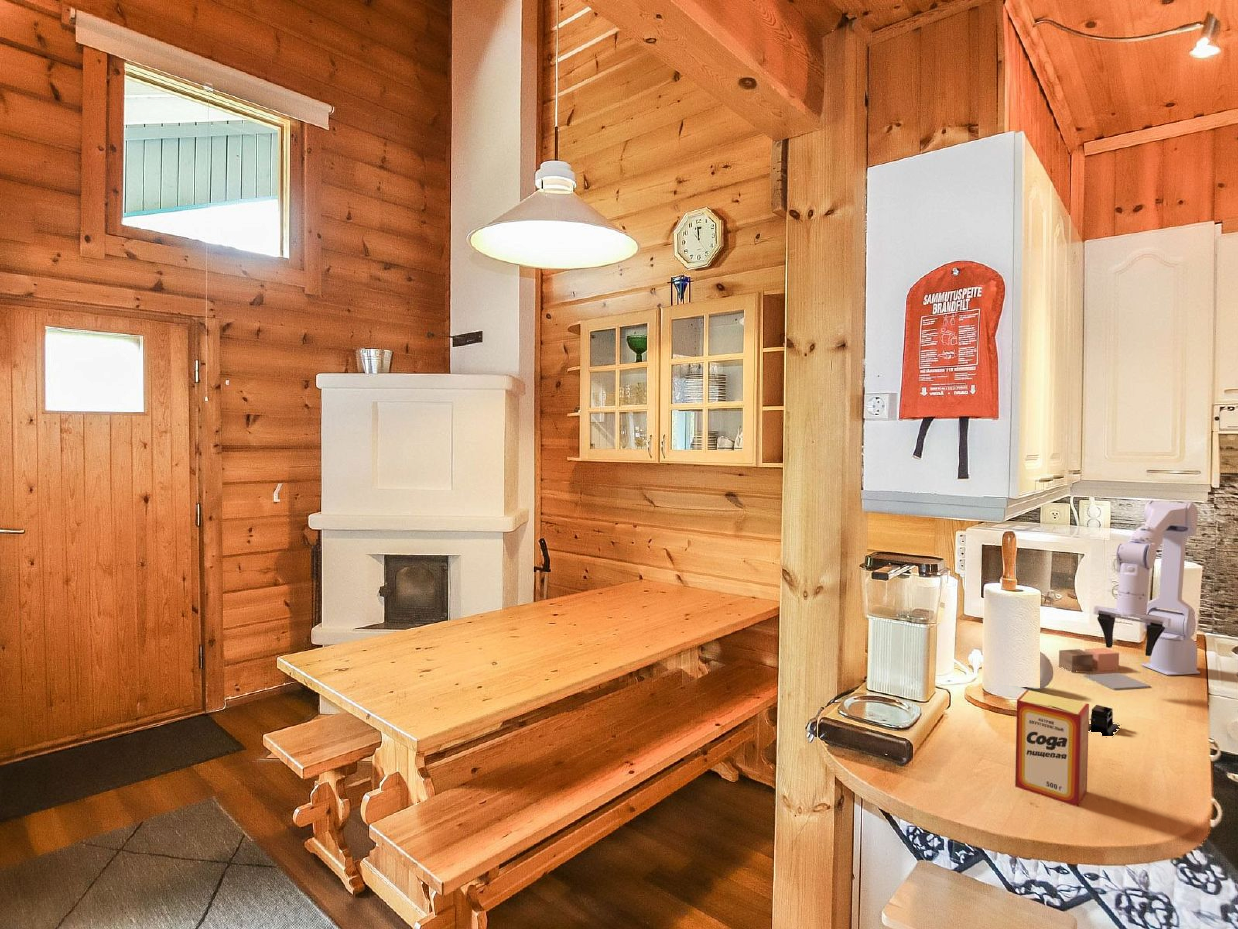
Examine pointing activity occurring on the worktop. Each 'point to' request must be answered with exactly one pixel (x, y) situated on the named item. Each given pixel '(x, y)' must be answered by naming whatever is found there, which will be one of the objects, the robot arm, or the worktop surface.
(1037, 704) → the baking soda box
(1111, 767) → the worktop surface
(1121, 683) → the baseplate
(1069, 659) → the walnut block
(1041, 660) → the grey rounded piece
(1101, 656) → the terracotta block
